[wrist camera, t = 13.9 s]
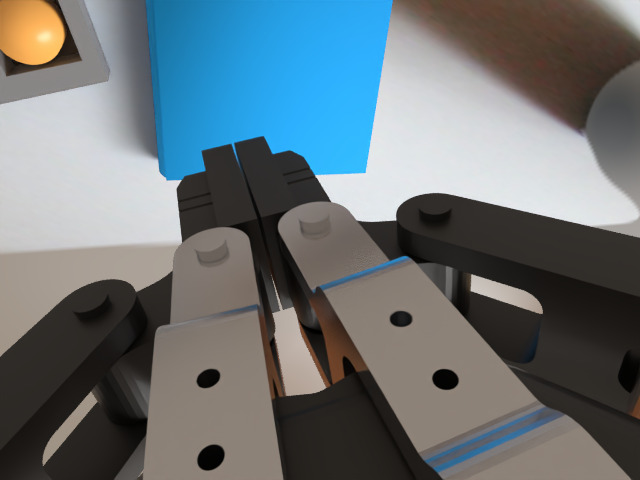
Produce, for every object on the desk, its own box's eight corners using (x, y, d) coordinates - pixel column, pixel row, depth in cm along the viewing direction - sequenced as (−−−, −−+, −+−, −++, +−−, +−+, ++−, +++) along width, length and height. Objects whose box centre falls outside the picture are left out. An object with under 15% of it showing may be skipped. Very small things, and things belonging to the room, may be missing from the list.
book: (426, -212, 30) (370, 174, 43) (396, -200, 33) (353, 154, 47) (117, -269, 25) (160, 185, 38) (120, -248, 29) (158, 162, 42)
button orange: (51, -16, 33) (45, -10, 31) (76, 48, 35) (73, 57, 33) (-15, -4, 32) (-25, 3, 30) (16, 60, 34) (8, 70, 32)
